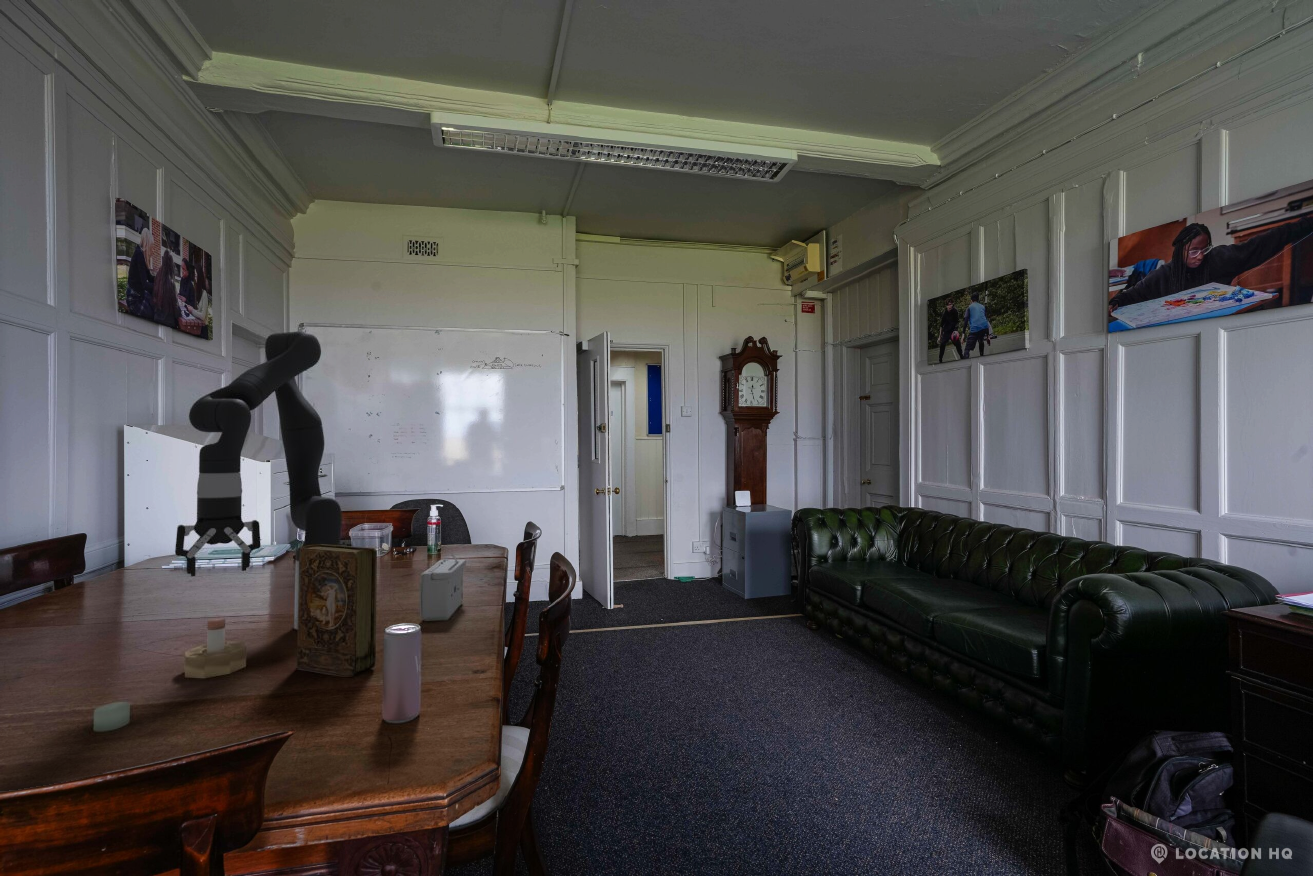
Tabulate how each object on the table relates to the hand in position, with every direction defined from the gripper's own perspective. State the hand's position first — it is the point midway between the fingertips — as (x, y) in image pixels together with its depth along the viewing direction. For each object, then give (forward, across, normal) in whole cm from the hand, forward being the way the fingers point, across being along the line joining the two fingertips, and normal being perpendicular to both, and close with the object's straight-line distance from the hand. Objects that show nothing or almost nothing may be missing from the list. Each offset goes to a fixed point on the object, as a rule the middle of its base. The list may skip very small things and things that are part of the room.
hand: (218, 573), depth 126 cm
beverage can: (+20, -22, +47) cm, 56 cm away
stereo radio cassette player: (+20, -53, -15) cm, 58 cm away
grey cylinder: (+20, 0, 0) cm, 20 cm away
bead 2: (+20, 0, 0) cm, 20 cm away
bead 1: (+20, +15, +21) cm, 33 cm away
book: (+20, -19, +15) cm, 31 cm away
